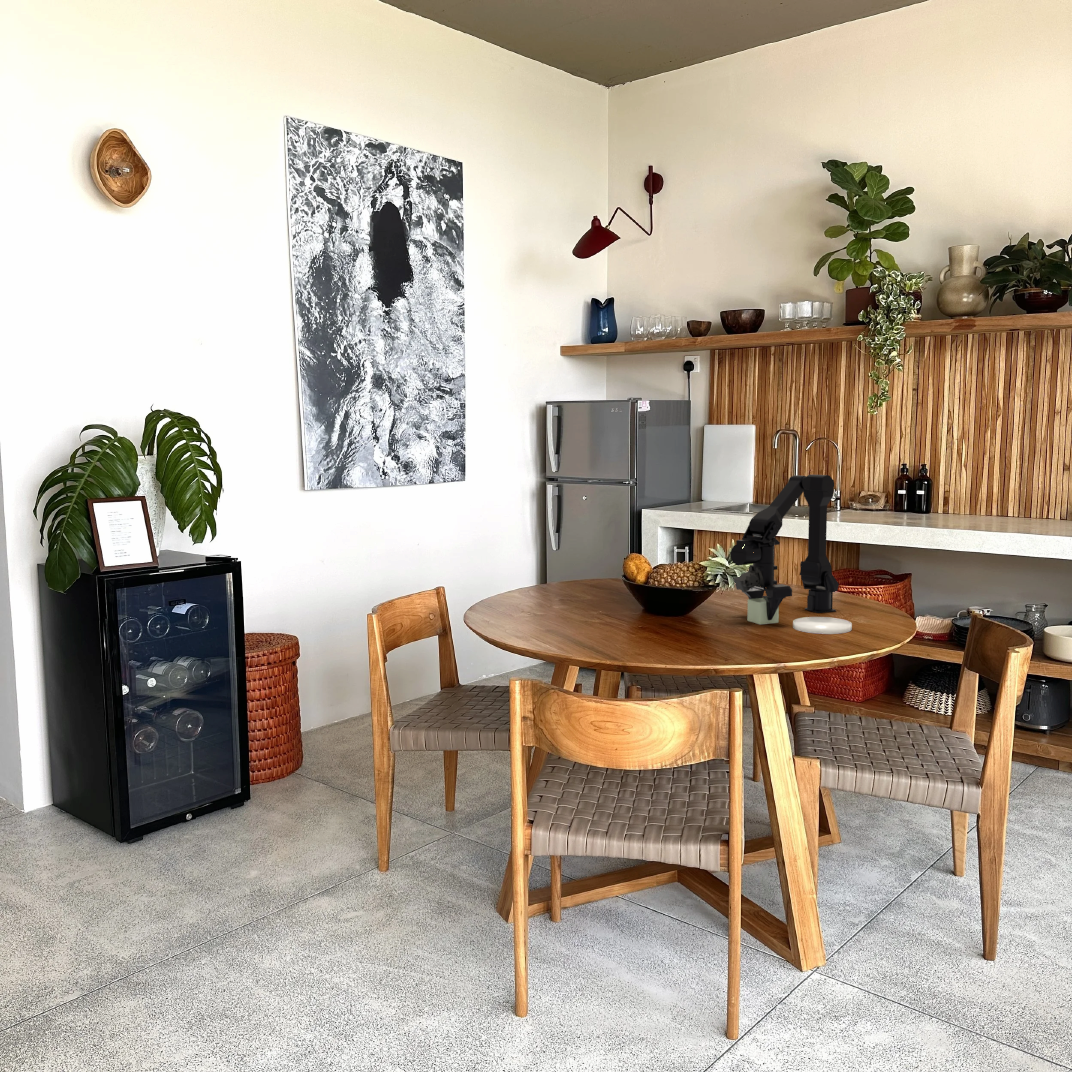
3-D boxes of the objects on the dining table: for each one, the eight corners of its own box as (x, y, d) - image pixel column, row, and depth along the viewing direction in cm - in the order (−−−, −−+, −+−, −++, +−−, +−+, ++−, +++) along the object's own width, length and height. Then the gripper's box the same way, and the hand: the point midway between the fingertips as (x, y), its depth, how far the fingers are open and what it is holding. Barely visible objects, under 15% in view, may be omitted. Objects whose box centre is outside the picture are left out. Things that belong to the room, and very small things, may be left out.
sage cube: (765, 618, 273) (765, 597, 272) (778, 622, 267) (778, 601, 266) (747, 620, 270) (747, 599, 270) (760, 624, 265) (760, 602, 264)
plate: (826, 620, 269) (827, 615, 269) (863, 630, 255) (864, 625, 255) (781, 625, 263) (781, 619, 263) (816, 636, 249) (816, 630, 249)
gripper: (719, 559, 272) (719, 614, 274) (758, 568, 255) (758, 626, 257) (753, 557, 277) (752, 611, 278) (793, 565, 259) (792, 623, 261)
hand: (762, 617), depth 269 cm, fingers closed on sage cube, 6 cm apart
